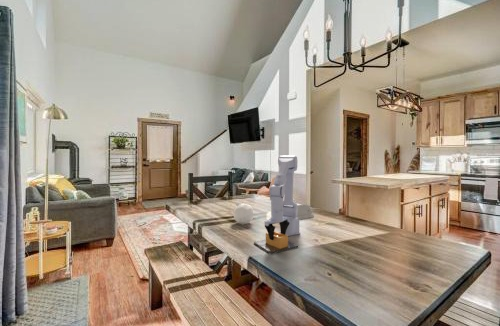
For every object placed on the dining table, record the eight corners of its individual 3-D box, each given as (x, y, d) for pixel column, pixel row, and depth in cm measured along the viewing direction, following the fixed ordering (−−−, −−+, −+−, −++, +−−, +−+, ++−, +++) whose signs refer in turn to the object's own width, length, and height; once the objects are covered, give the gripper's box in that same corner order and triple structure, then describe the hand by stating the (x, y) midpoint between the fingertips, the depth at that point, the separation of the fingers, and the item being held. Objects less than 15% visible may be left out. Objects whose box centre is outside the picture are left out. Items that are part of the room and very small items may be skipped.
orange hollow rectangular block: (273, 240, 128) (273, 230, 128) (287, 246, 120) (287, 235, 120) (265, 242, 125) (265, 232, 125) (279, 248, 117) (279, 238, 117)
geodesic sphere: (229, 218, 155) (242, 200, 156) (226, 213, 168) (238, 196, 170) (247, 231, 158) (260, 212, 159) (243, 225, 171) (254, 208, 173)
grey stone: (295, 220, 171) (292, 205, 174) (291, 220, 175) (288, 206, 178) (314, 216, 179) (311, 203, 182) (310, 217, 183) (306, 204, 186)
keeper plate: (280, 238, 134) (280, 228, 134) (298, 247, 121) (298, 236, 121) (253, 243, 127) (253, 233, 126) (269, 254, 113) (269, 242, 113)
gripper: (282, 206, 129) (282, 232, 130) (260, 210, 121) (260, 238, 121) (292, 208, 124) (292, 236, 124) (270, 213, 115) (270, 242, 115)
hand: (277, 237), depth 122 cm, fingers open, 7 cm apart
